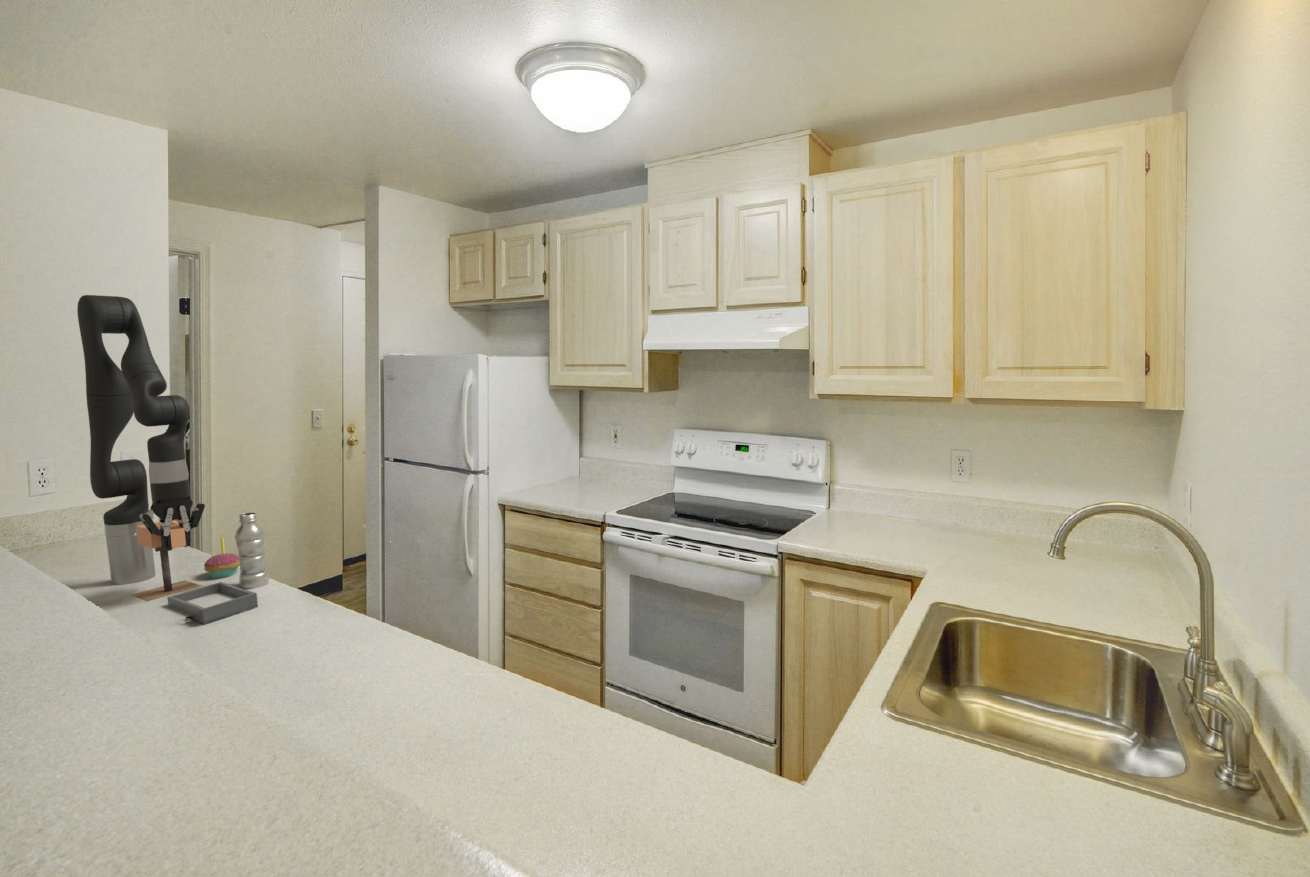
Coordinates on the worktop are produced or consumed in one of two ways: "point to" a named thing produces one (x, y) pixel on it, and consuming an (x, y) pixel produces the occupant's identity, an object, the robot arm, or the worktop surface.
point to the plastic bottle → (251, 552)
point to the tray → (217, 611)
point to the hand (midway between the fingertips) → (176, 547)
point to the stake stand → (165, 581)
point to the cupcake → (222, 564)
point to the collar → (155, 540)
